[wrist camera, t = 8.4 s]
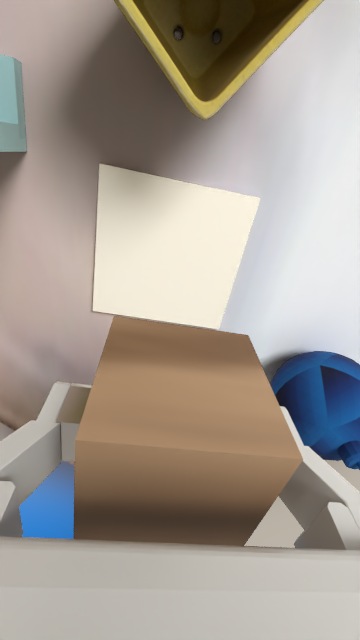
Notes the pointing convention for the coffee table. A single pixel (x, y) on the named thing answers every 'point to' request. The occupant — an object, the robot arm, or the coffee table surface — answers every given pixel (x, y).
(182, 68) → the flower pot
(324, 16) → the coffee table surface
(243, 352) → the brown block
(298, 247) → the coffee table surface
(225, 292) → the pad
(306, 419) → the bomb
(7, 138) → the screen
